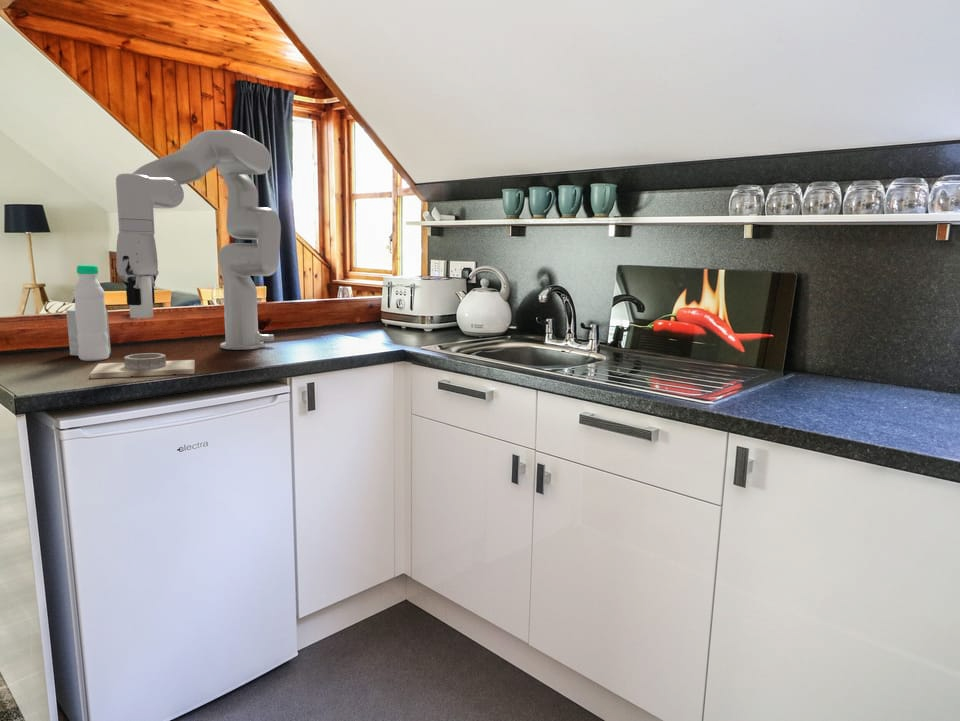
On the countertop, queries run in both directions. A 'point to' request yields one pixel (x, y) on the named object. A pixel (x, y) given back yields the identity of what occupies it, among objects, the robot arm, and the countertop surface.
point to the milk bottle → (90, 315)
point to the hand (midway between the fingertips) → (141, 303)
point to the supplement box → (73, 332)
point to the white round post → (143, 300)
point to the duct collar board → (143, 366)
